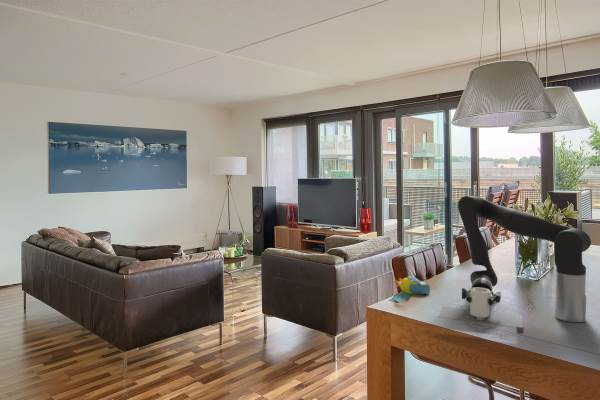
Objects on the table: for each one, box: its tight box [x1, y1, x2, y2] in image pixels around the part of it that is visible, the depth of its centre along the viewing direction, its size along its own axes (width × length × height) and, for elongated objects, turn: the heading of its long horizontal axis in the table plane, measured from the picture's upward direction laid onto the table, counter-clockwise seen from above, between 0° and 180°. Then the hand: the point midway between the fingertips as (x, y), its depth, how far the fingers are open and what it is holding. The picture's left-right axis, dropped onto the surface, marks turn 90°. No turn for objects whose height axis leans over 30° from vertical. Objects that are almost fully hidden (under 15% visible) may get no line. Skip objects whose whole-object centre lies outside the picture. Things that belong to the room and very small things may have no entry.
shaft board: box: [438, 305, 524, 333], centre depth 161 cm, size 28×14×10 cm, turn 65°
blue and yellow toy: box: [388, 275, 431, 304], centre depth 194 cm, size 28×9×15 cm
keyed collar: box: [469, 287, 490, 317], centre depth 158 cm, size 6×6×9 cm
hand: (479, 301), depth 156 cm, fingers closed on keyed collar, 6 cm apart
